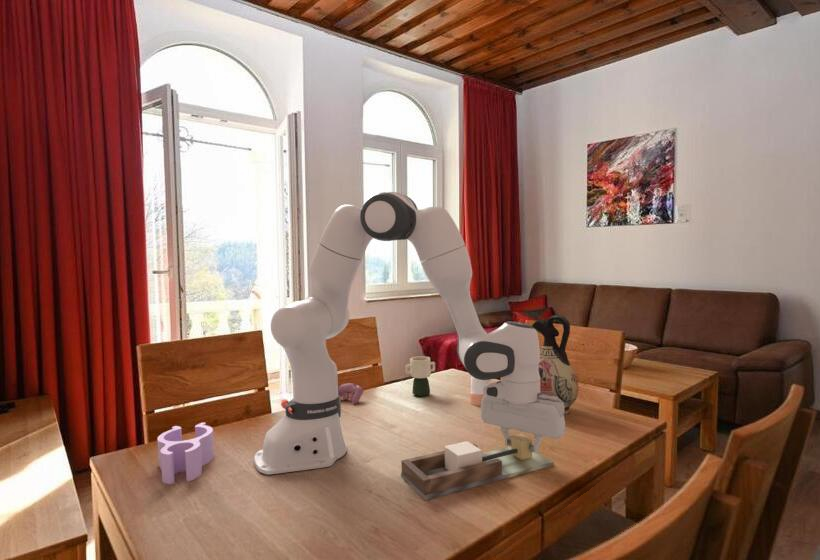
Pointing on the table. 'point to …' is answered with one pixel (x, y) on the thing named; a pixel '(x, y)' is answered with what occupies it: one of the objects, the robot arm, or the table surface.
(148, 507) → the table surface
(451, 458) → the block plunger with rod
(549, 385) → the ceramic jug
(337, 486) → the table surface
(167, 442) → the clip
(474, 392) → the pepper shaker
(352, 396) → the video game controller
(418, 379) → the cream green tall piece
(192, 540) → the table surface
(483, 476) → the shelf lane
